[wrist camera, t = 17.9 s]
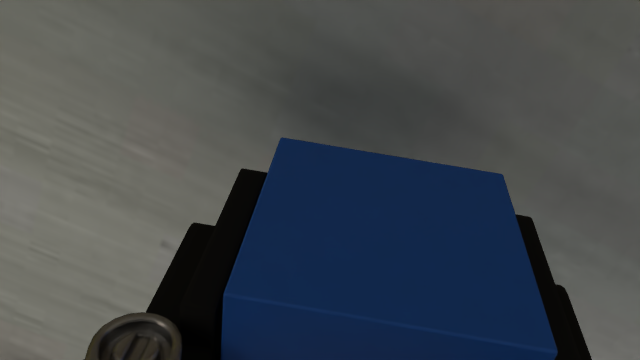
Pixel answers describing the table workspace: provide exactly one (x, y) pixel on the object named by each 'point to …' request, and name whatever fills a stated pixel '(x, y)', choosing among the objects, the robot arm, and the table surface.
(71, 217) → the table surface
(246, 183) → the robot arm
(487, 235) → the blue cube box
